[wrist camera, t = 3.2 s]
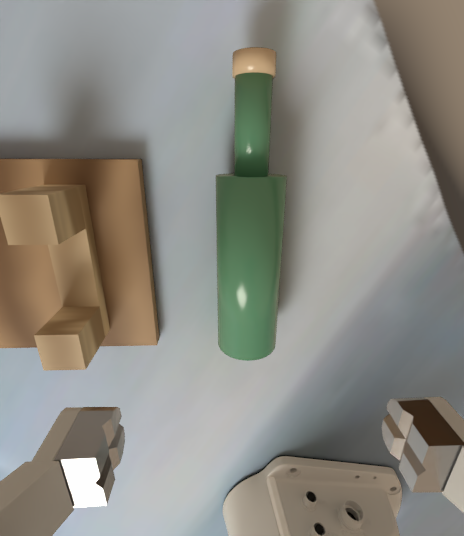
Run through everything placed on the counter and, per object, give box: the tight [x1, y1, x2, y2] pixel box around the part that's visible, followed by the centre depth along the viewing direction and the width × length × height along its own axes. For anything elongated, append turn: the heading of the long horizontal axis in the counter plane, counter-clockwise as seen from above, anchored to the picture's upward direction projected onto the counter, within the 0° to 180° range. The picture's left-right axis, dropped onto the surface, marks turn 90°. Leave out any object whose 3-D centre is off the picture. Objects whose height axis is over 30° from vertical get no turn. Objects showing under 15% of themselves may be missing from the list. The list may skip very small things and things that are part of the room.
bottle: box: [216, 47, 287, 360], centre depth 22 cm, size 21×5×5 cm, turn 0°
